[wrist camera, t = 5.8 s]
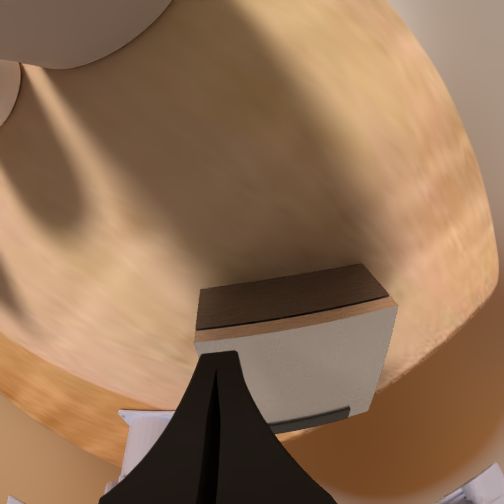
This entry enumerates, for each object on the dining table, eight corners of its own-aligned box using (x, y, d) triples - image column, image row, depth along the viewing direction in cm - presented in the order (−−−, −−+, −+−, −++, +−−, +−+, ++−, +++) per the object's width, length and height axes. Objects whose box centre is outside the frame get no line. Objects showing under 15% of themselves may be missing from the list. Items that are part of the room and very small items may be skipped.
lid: (364, 402, 20) (368, 412, 19) (231, 429, 20) (232, 440, 19) (390, 296, 15) (399, 307, 14) (195, 331, 15) (193, 345, 14)
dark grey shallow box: (348, 368, 25) (363, 400, 21) (229, 390, 24) (231, 426, 20) (362, 263, 19) (389, 294, 16) (200, 289, 19) (195, 328, 15)
